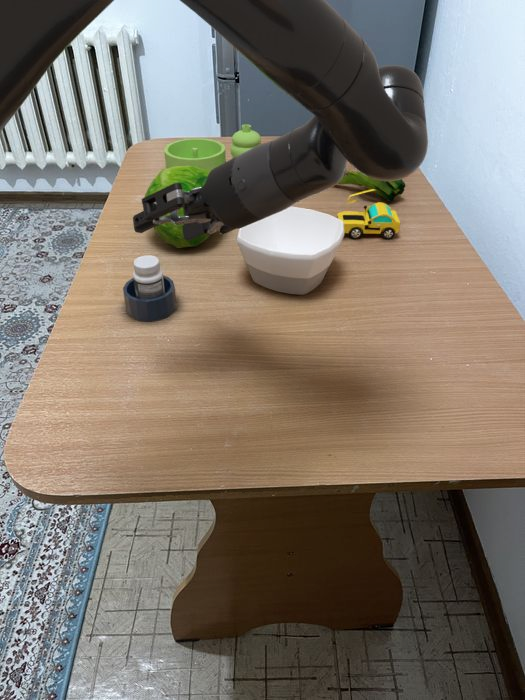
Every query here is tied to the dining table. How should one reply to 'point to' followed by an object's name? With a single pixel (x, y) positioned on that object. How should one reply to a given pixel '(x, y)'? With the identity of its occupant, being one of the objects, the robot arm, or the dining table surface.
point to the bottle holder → (150, 302)
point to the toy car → (370, 220)
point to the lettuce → (170, 231)
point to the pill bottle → (148, 277)
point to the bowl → (291, 249)
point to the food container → (209, 150)
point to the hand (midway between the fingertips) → (161, 229)
